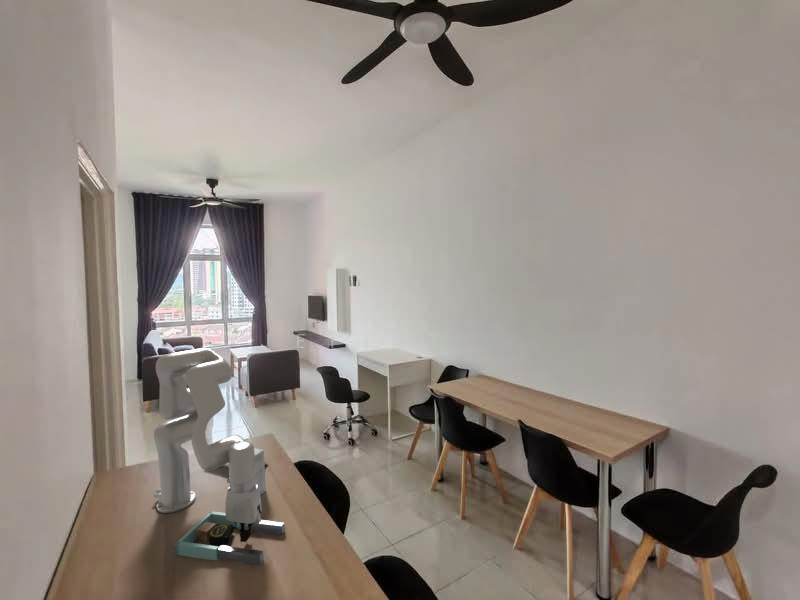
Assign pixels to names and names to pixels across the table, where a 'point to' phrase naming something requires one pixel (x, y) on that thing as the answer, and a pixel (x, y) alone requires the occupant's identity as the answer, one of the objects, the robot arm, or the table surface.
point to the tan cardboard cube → (204, 532)
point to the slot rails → (250, 554)
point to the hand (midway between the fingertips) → (245, 539)
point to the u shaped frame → (193, 549)
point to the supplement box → (260, 470)
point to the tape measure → (221, 535)
